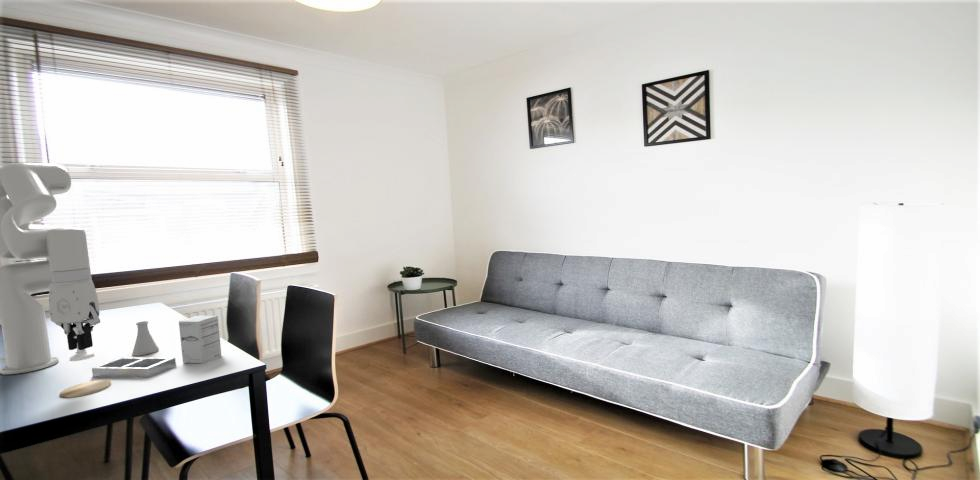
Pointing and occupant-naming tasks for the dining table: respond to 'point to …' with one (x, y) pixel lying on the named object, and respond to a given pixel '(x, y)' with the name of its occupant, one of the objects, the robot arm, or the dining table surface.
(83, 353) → the chess piece
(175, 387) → the dining table surface
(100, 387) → the coaster
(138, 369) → the divided tray
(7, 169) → the robot arm
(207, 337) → the supplement box
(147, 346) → the flask
